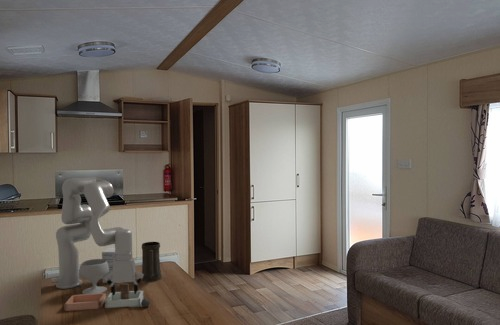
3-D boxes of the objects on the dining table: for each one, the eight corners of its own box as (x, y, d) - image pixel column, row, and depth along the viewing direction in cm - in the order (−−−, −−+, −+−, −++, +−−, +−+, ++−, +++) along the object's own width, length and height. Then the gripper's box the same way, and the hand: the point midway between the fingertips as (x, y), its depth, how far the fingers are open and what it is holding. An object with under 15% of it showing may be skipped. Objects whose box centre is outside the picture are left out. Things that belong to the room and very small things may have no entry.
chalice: (99, 297, 186) (98, 266, 186) (73, 295, 189) (72, 265, 189) (114, 287, 200) (114, 258, 199) (90, 286, 203) (89, 257, 202)
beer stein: (139, 276, 216) (139, 242, 215) (159, 274, 221) (158, 239, 219) (144, 287, 203) (144, 249, 201) (164, 283, 207) (164, 247, 205)
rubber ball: (140, 308, 172) (140, 300, 171) (142, 305, 175) (141, 297, 175) (149, 307, 172) (149, 299, 172) (150, 304, 176) (149, 297, 176)
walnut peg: (120, 303, 176) (119, 286, 176) (121, 300, 180) (121, 283, 179) (128, 303, 177) (128, 285, 176) (129, 300, 180) (129, 283, 180)
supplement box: (109, 277, 217) (108, 247, 217) (125, 277, 217) (124, 247, 216) (102, 283, 207) (101, 251, 207) (119, 282, 207) (118, 251, 207)
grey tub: (105, 309, 171) (104, 301, 171) (110, 299, 183) (110, 292, 182) (140, 306, 174) (140, 299, 174) (143, 297, 185) (143, 290, 185)
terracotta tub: (64, 312, 169) (64, 304, 169) (72, 302, 180) (72, 295, 180) (100, 309, 171) (100, 301, 171) (106, 300, 182) (106, 292, 182)
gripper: (102, 260, 173) (103, 297, 173) (142, 257, 175) (142, 295, 176) (106, 255, 180) (107, 292, 180) (144, 253, 183) (145, 289, 183)
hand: (124, 293), depth 178 cm, fingers open, 9 cm apart
